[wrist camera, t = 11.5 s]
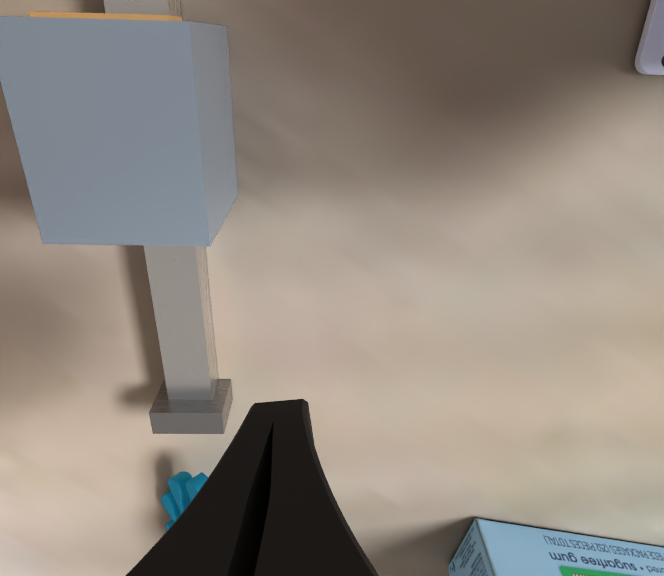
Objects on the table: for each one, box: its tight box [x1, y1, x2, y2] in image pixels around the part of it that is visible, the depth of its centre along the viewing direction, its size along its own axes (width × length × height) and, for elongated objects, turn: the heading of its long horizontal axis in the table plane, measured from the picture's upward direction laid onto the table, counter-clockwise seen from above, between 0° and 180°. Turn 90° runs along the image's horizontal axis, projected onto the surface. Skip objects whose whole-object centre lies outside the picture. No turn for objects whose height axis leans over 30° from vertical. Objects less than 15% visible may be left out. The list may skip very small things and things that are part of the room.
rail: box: [103, 0, 233, 434], centre depth 18 cm, size 3×22×2 cm, turn 179°
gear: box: [161, 472, 208, 532], centre depth 26 cm, size 11×6×10 cm
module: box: [0, 11, 238, 246], centre depth 16 cm, size 5×6×6 cm
